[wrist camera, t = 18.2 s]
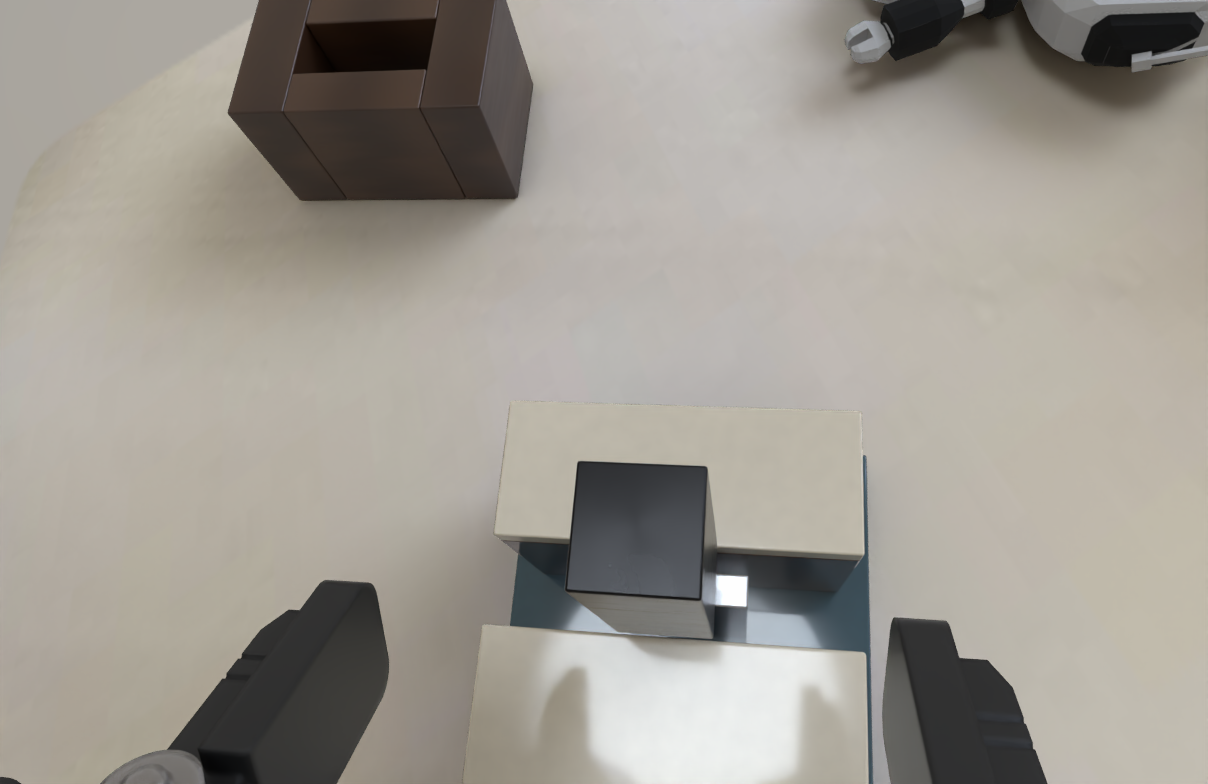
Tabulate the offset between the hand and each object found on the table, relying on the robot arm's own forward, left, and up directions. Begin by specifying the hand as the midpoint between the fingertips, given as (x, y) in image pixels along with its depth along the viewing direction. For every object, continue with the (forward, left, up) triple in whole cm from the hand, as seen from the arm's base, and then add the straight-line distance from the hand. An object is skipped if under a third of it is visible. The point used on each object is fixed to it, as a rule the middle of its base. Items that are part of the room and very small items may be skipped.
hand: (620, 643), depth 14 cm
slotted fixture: (0, +2, -17) cm, 17 cm away
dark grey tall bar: (0, +2, -16) cm, 17 cm away
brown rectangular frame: (-13, +22, -17) cm, 31 cm away
